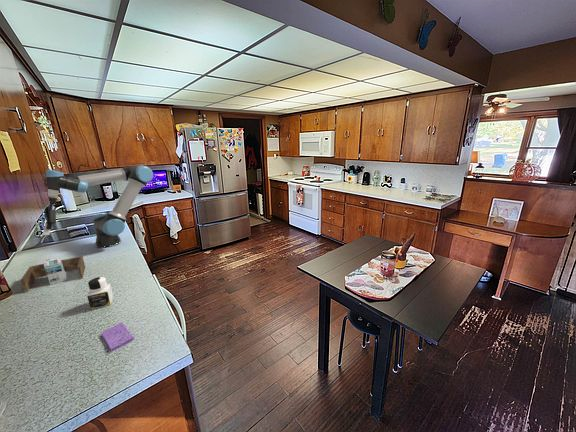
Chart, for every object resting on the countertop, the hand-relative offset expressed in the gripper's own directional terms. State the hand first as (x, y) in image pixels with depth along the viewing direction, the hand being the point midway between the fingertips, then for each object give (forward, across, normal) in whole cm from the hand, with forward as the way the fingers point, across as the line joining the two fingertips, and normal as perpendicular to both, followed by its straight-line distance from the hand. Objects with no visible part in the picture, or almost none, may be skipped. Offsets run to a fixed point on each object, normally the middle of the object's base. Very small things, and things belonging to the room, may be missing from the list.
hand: (38, 232), depth 134 cm
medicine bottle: (+18, +69, -8) cm, 72 cm away
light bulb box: (+21, +25, +1) cm, 32 cm away
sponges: (+21, +96, -20) cm, 100 cm away
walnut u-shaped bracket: (+20, +24, +1) cm, 31 cm away
